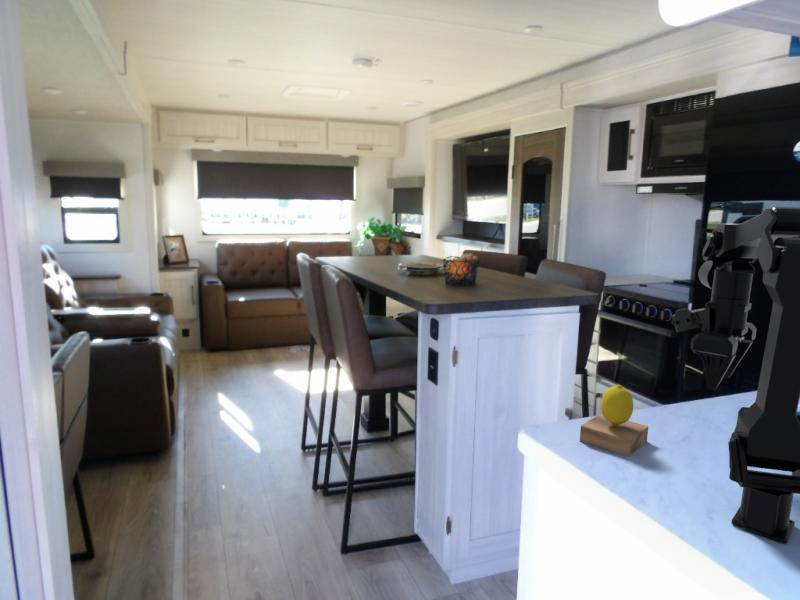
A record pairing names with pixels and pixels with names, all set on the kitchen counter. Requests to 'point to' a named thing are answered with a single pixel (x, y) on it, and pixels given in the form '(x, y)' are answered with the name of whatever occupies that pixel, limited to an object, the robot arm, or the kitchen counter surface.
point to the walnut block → (614, 435)
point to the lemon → (617, 405)
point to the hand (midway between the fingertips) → (718, 383)
